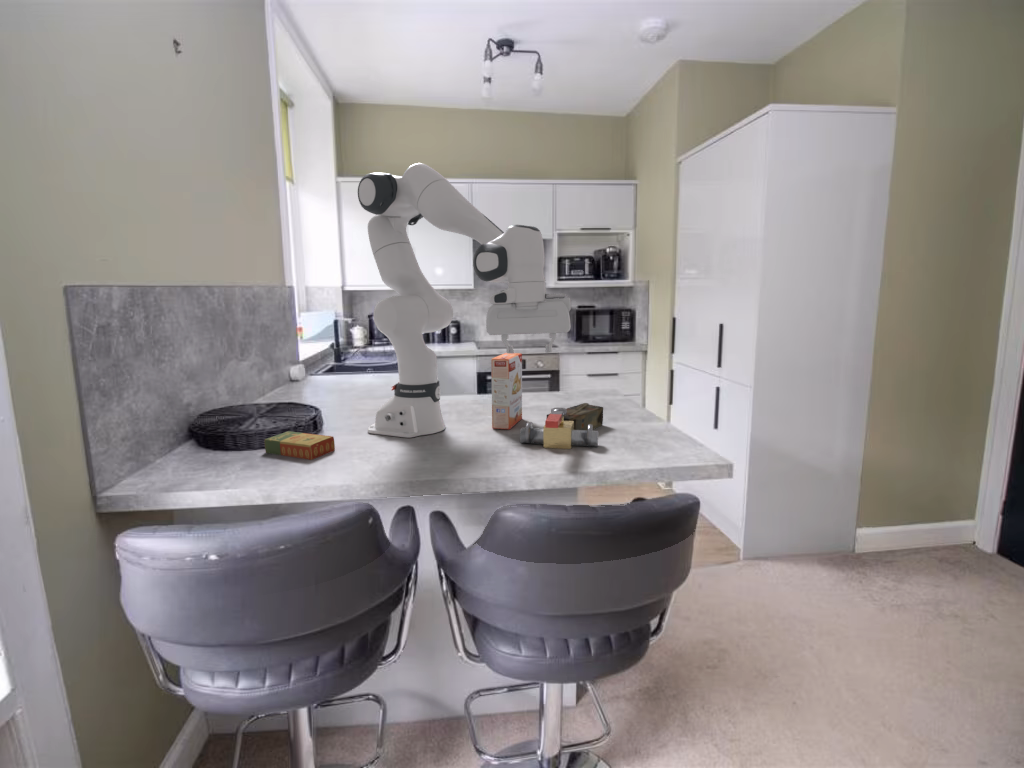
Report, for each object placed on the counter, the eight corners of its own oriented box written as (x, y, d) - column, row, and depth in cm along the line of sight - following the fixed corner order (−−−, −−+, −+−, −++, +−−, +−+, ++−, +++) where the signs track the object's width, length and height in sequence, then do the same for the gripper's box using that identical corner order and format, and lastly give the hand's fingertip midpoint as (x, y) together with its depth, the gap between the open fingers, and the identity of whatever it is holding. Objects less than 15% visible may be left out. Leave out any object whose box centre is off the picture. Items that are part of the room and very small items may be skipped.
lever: (552, 412, 136) (552, 406, 135) (567, 413, 135) (567, 407, 134) (543, 427, 122) (543, 420, 121) (559, 428, 121) (559, 421, 121)
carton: (311, 461, 126) (309, 444, 125) (264, 454, 133) (262, 438, 132) (335, 451, 134) (334, 435, 133) (290, 444, 140) (288, 429, 139)
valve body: (518, 446, 134) (518, 417, 132) (524, 438, 140) (523, 411, 139) (596, 450, 129) (597, 420, 128) (598, 442, 136) (598, 413, 134)
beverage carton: (604, 426, 152) (604, 404, 151) (568, 441, 138) (568, 417, 137) (581, 421, 157) (581, 400, 156) (544, 436, 143) (544, 413, 142)
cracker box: (511, 430, 149) (509, 358, 145) (491, 429, 150) (489, 358, 146) (523, 418, 162) (522, 352, 158) (505, 417, 163) (504, 352, 160)
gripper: (571, 292, 124) (573, 350, 126) (488, 296, 127) (491, 352, 130) (570, 292, 118) (571, 353, 120) (483, 296, 121) (486, 355, 124)
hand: (529, 352), depth 125 cm, fingers open, 8 cm apart
